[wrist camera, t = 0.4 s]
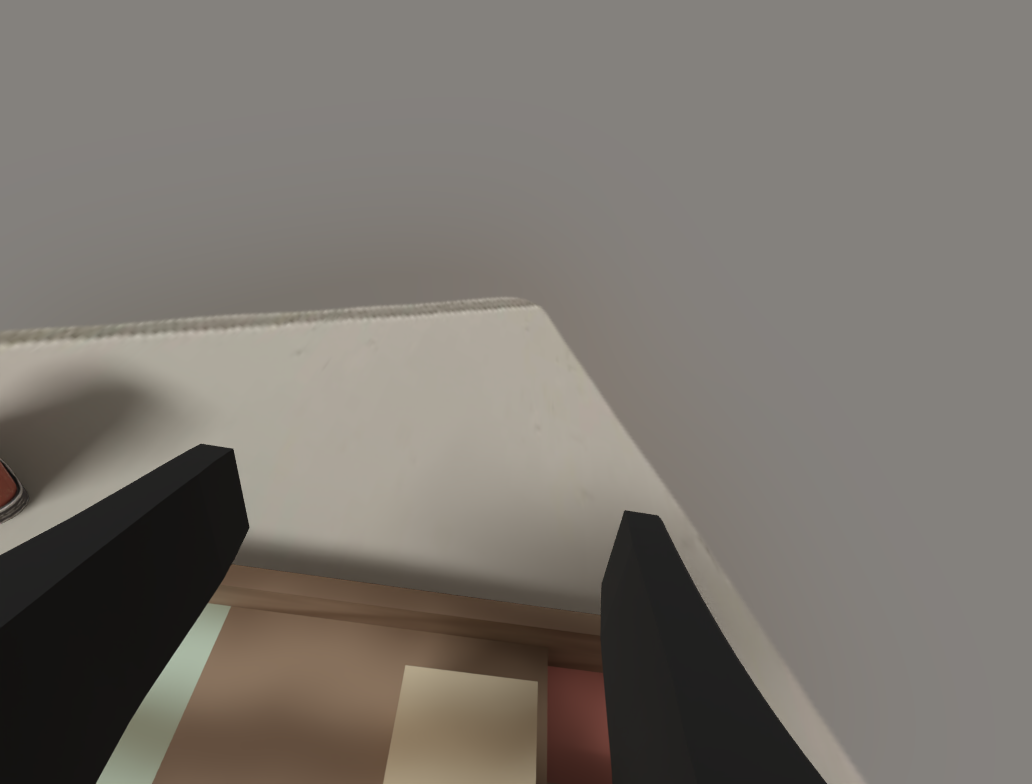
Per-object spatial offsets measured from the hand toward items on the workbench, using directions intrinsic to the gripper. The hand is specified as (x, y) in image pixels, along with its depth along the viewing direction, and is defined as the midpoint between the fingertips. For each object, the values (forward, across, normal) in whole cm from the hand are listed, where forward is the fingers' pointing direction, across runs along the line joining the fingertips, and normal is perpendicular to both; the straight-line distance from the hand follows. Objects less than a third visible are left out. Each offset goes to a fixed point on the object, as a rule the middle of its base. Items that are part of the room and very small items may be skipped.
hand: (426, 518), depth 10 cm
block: (+3, -1, +18) cm, 18 cm away
